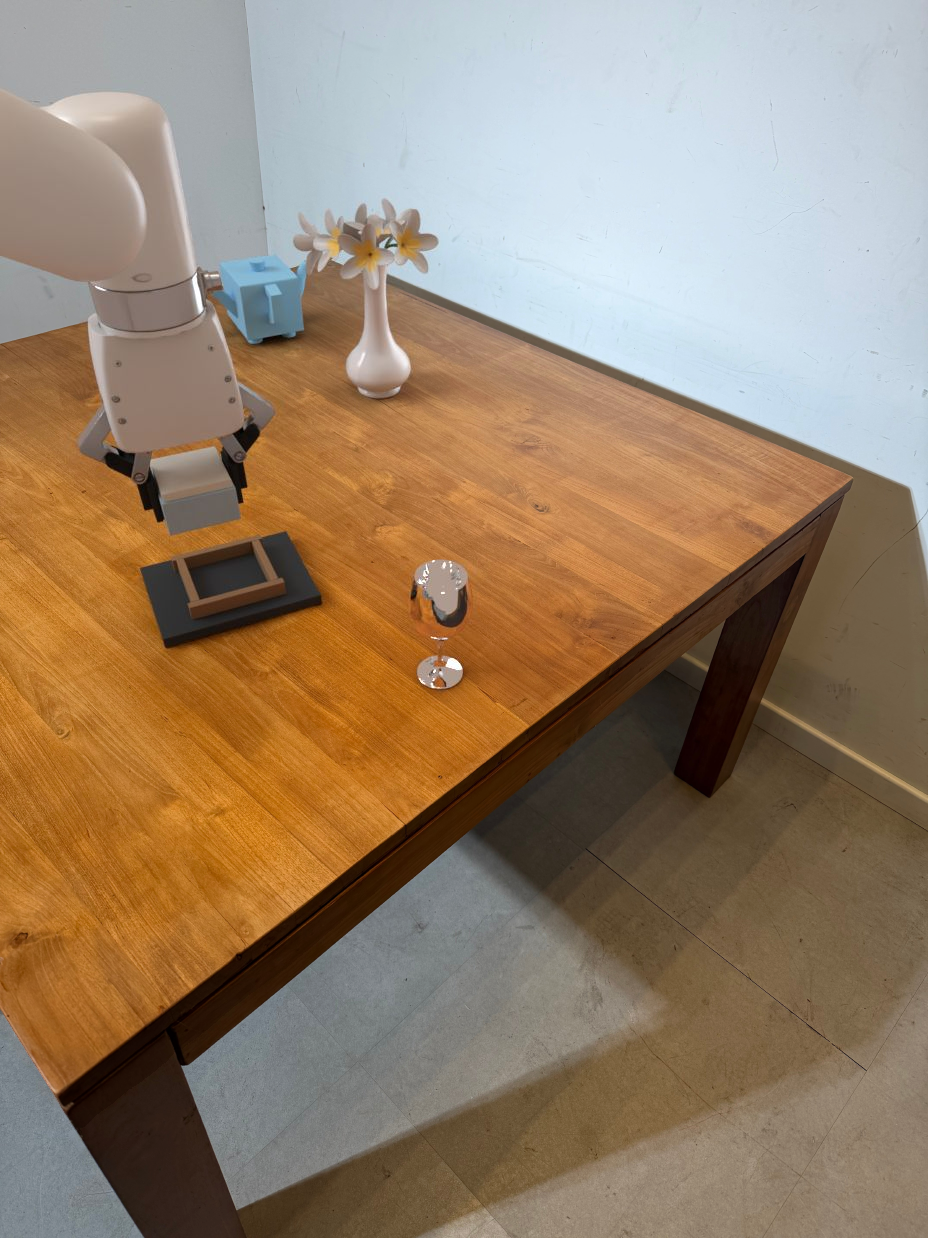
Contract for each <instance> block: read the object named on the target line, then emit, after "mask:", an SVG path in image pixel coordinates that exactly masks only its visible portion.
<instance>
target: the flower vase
mask: <svg viewBox="0 0 928 1238" xmlns="http://www.w3.org/2000/svg"><path fill="white" fill-rule="evenodd" d="M367 206H368V205H367V204H366V203H365V202H363V203H361V204H360V205H359V206H358V208H357V209H356V211H355V215H354V221H350V220H349V221H345V220H344V216H343V215H341V216H339V218H337V221H336V220H335V218H334V215H333V213H332V211H331V209H329V208H327V209H326V211H325V213H324V227H325V229H326V232H327V233H320V232H319V230H318V227H317V225H315V224H313V225H312V224H311V223H310V222H309V220H308V219H307V217H305V215H304V214H303V213H302V212H301V211H299V212H298V213H297V217H298V218H297V219H298V222H299V225H300V227H301V229H302V230H303V232H304V233H301V234H296V235H294V236H293V238H292V243H293V244H292V245H293V246H294V247H295V248H296V249H297V250H298V251H301V252H305V253H306V252H308V253H307V255H306V258H305V260H306V272H307V274H306V275H307V276H310V275H311V274H312V273H313V271H314V268H315V266H316V264H317V272H318V273H320V272H322V271H323V270H324V269H325V268H326V267H327V265H328V264H329V263H330V262H331V261H332V260H333V261H337V260H338V258H339V255H340V253H341V251H344V252H345V253H346V254H347V255H350V256H352V257H350V258H349V259H347V260H346V262H344V263H343V265H342V266H341V268H340V273H339V274H340V277H341V278H342V279H343V280H352V279H354V278H356V277H357V276H358V275H360V274H361V279H362V285H363V286H362V287H363V302H364V303H363V305H364V308H363V310H364V311H363V312H364V314H363V316H364V317H363V318H364V321H363V329H362V334H361V336H360V339H359V342H358V344H356V346H355V347H353V349H352V350H351V351H350V352H349V354H348V355H347V358H346V361H345V373H346V375H347V378H348V380H350V382H351V383H352V384H353V385H354V386H356V387H357V390H358V392H359V393H360V394H361V395H363V396H365V397H366V398H370V399H375V400H377V399H379V400H380V399H388V398H391V397H393V396H396V395H397V394H398V393H399V392H400V391H401V387H402V386H403V384H404V383H406V382H407V380H408V379H409V377H410V375H411V373H412V364H411V361H410V358H409V356H408V354H407V353H406V351H405V350H404V349H403V348H402V347H401V346H400V345H399V344H397V342H396V340H395V339H394V336H393V334H392V332H391V328H390V324H389V323H390V322H389V315H388V302H387V275H388V267H389V265H391V264H392V263H395V264H396V265H397V266H404V265H405V264H407V262H408V261H409V260H410V261H411V263H412V264H413V265H414V267H415V268H416V269H417V270H418V271H419V272H420V273H422V274H423V275H426V274H428V273H429V270H430V269H429V263H428V260H427V258H426V256H425V255H424V254H423V252H427V251H431V250H434V249H435V248H436V247H438V245H439V241H440V240H439V238H438V236H436V235H435V234H432V233H428V232H424V233H423V232H422V233H421V232H420V229H421V214H420V212H419V210H418V209H416V208H413V207H409V208H408V207H407V208H405V209H403V211H402V212H400V214H399V215H398V217H397V211H396V209H395V207H394V205H393V204H392V203H391V202H390V201H389V200H388V199H387V198H385V197H384V198H382V199H381V208H382V210H383V214H384V218H383V217H381V216H380V213H379V212H374V213H373V214H370V215H368V207H367ZM384 241H386V242H385V243H384V246H383V247H380V244H382V243H383V242H384ZM393 241H395V242H396V243H392V242H393ZM389 248H395V251H394V252H393V251H391V250H390V249H389Z"/></svg>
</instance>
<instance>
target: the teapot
mask: <svg viewBox="0 0 928 1238" xmlns="http://www.w3.org/2000/svg"><path fill="white" fill-rule="evenodd" d="M219 271H220V277H221V281H222V290H218V291H213V293H211V295H212V296H213V297H214V298H215V300H217V301H218V302H219V303H220V304H221V305H222V306H223V307H225V309H226V314H227V315H228V317H229V318H230V320H232V322H233V324H234V325H235V326H236V327H237V329H238V330H239V331H240V333H241V334H242V335H243V336H244V337H245V339H246V340H247V342H248V344H252V345H256V344H260V343H262V342H263V341H264V340H263V339H264V338H269V337H274V336H280V335H281V336H282V337H283V338H293V337H295V336H296V334H297V332H302V331H305V326H304V317H303V307H302V297H303V296H304V291H305V287H306V278H307V275H308V274H307V272H306V259H305V260H303V261H301V263H300V264H299V265H298V267H297V270H296V274H295V272H293V270H292V269H291V268H290V267H289V266H288V265H287V264H286V263H285V262H284V261H283V260H282V258H280V257H279V256H277V254H268V255H262V256H253V257H247V258H241V259H234V260H228V261H221V262H219Z"/></svg>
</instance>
